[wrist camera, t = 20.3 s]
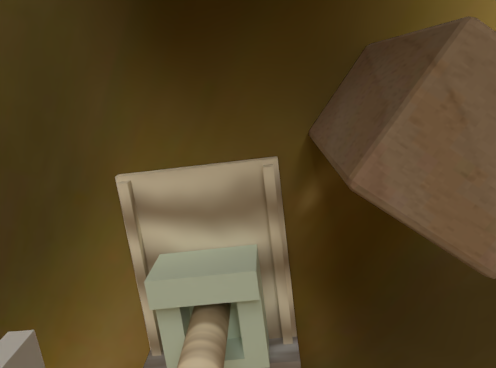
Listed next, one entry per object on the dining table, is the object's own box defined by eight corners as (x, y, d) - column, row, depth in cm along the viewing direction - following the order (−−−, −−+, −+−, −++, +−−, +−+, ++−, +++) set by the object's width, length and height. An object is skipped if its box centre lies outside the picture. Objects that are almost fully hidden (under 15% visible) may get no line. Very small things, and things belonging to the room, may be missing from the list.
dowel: (194, 286, 43) (164, 382, 30) (229, 282, 43) (215, 378, 29) (198, 317, 44) (172, 425, 30) (233, 314, 44) (222, 421, 30)
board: (118, 174, 43) (99, 187, 38) (277, 156, 42) (279, 167, 37) (155, 355, 48) (143, 387, 43) (297, 342, 47) (301, 373, 42)
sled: (159, 254, 44) (144, 281, 38) (256, 244, 43) (256, 270, 37) (177, 347, 46) (165, 386, 40) (269, 339, 46) (270, 378, 40)
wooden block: (389, 188, 42) (497, 285, 23) (305, 134, 41) (344, 187, 22) (454, 102, 40) (636, 128, 21) (368, 42, 39) (473, 10, 20)
